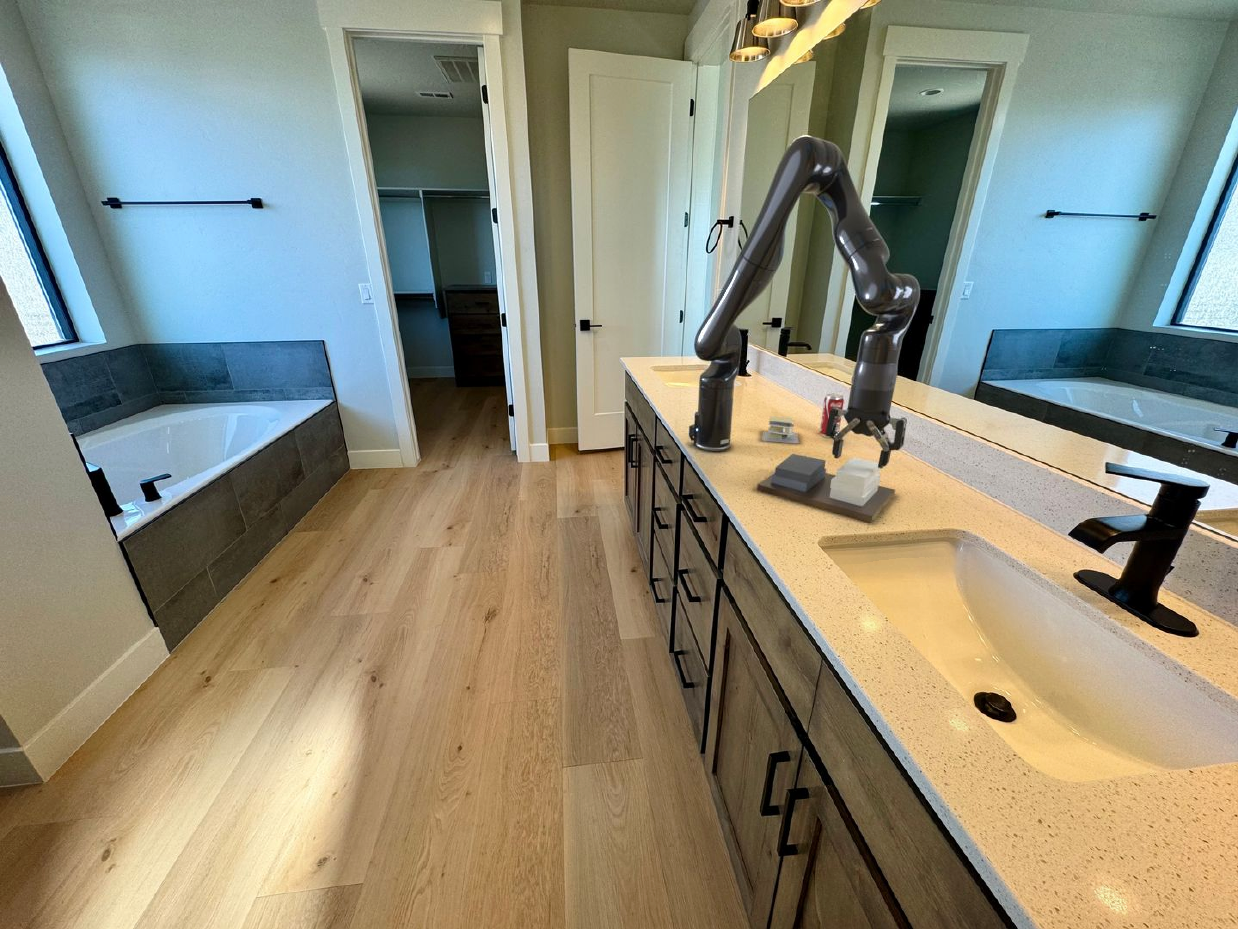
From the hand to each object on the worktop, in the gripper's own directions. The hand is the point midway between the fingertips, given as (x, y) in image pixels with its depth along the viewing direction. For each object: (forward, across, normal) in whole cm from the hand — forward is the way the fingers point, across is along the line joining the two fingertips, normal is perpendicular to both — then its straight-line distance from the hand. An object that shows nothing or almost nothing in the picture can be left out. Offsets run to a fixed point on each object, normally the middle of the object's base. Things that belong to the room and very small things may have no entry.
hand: (858, 462), depth 101 cm
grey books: (+7, +12, 0) cm, 14 cm away
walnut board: (+9, +6, 0) cm, 11 cm away
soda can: (+9, +20, -41) cm, 46 cm away
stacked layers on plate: (+9, +30, -30) cm, 43 cm away
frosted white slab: (+3, 0, 0) cm, 3 cm away
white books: (+7, 0, 0) cm, 7 cm away
